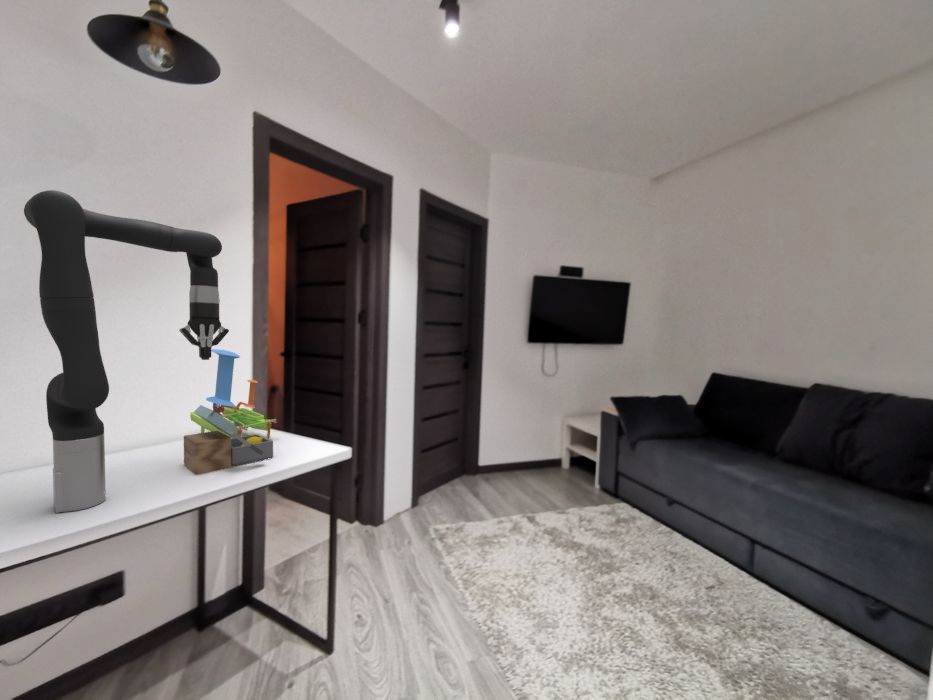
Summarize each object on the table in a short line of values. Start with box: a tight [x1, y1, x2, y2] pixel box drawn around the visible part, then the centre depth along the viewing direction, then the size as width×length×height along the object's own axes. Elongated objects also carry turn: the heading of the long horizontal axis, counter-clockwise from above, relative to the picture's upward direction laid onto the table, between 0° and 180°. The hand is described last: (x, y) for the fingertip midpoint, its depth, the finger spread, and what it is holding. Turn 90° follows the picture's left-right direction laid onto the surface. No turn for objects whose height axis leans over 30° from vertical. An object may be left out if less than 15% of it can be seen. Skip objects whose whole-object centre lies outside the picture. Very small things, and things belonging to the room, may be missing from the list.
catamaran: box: [189, 348, 278, 439], centre depth 158 cm, size 18×32×35 cm, turn 66°
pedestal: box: [183, 431, 232, 476], centre depth 129 cm, size 10×13×10 cm
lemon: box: [242, 436, 263, 446], centre depth 139 cm, size 6×6×8 cm
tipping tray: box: [192, 404, 264, 455], centre depth 131 cm, size 19×19×3 cm
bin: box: [231, 433, 274, 468], centre depth 138 cm, size 13×13×6 cm
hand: (205, 359), depth 121 cm, fingers closed
